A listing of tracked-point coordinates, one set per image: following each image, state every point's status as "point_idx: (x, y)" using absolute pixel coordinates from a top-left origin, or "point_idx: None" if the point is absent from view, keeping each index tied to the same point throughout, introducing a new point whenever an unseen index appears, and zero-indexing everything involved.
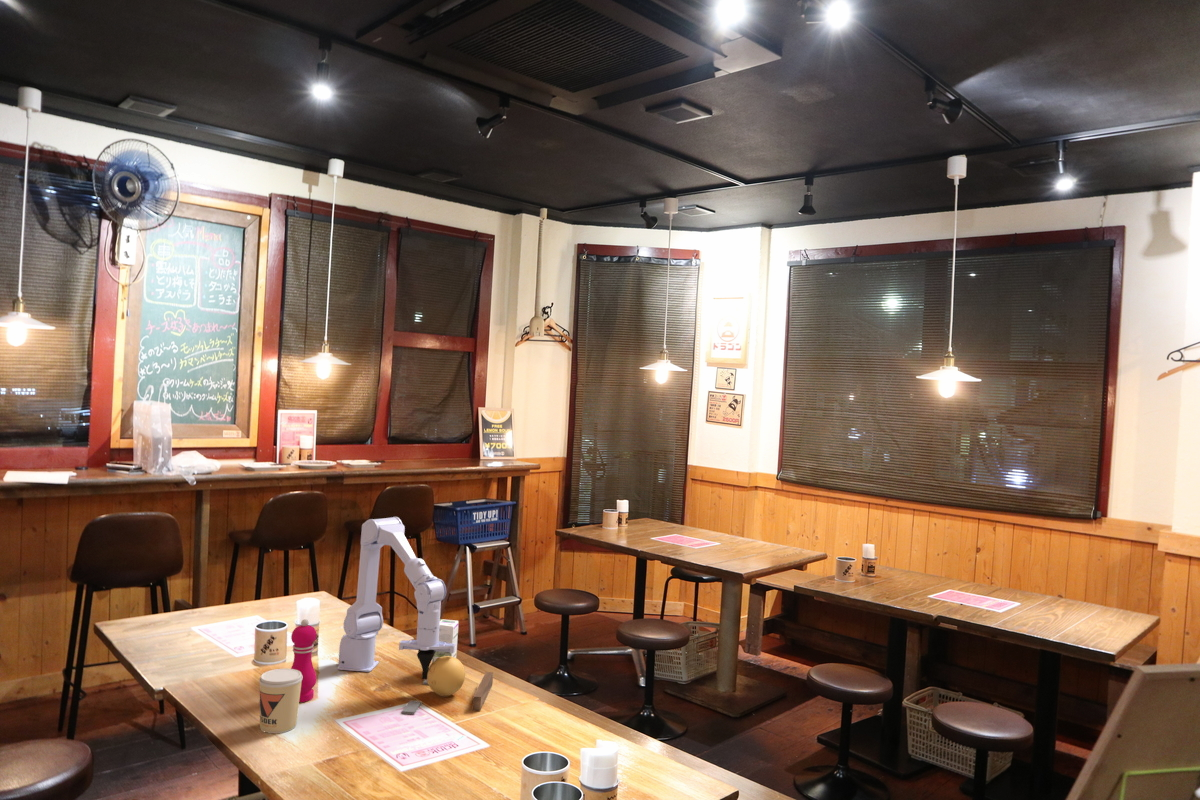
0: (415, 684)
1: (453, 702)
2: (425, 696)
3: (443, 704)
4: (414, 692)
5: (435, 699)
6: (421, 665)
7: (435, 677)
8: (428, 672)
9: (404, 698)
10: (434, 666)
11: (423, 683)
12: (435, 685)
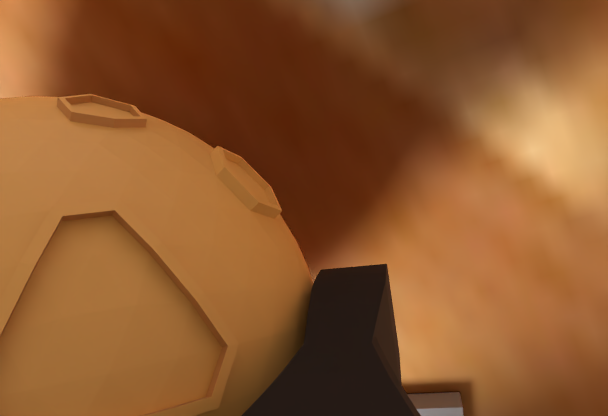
0: (528, 380)
1: (7, 96)
2: (322, 150)
3: (55, 10)
4: (472, 211)
5: (194, 109)
6: (402, 393)
7: (24, 134)
8: (237, 284)
9: (529, 17)
10: (35, 350)
11: (456, 398)
12: (95, 101)
